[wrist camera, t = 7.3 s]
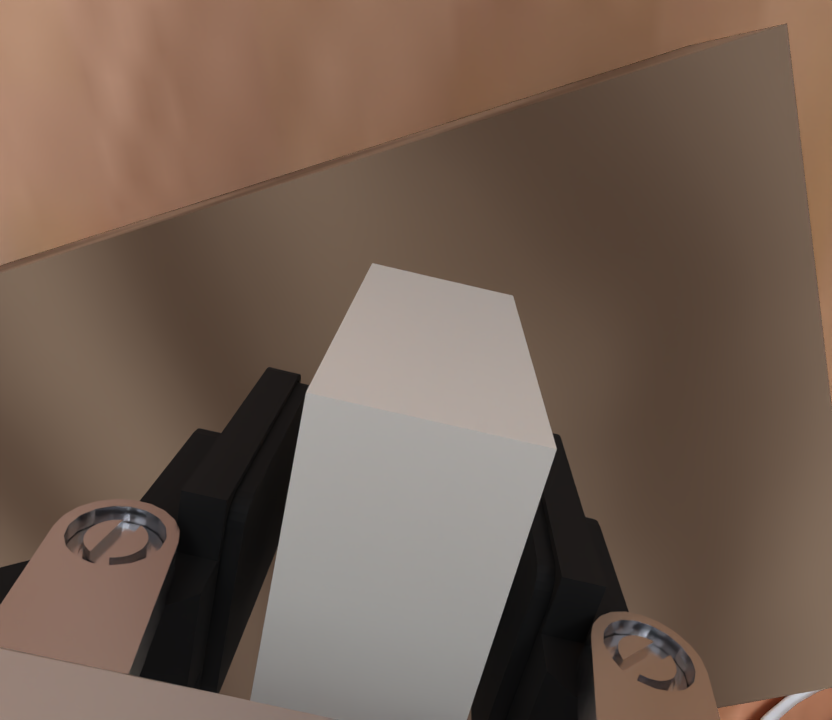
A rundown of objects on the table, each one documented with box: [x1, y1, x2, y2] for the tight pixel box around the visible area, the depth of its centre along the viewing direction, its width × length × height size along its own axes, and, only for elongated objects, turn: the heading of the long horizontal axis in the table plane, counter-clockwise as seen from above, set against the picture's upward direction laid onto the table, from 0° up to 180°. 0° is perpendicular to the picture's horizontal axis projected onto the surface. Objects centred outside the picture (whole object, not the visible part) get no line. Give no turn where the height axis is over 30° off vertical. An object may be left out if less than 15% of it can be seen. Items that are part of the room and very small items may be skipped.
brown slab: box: [0, 24, 832, 720], centre depth 17 cm, size 20×14×5 cm
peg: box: [250, 263, 557, 720], centre depth 11 cm, size 10×2×7 cm, turn 167°
